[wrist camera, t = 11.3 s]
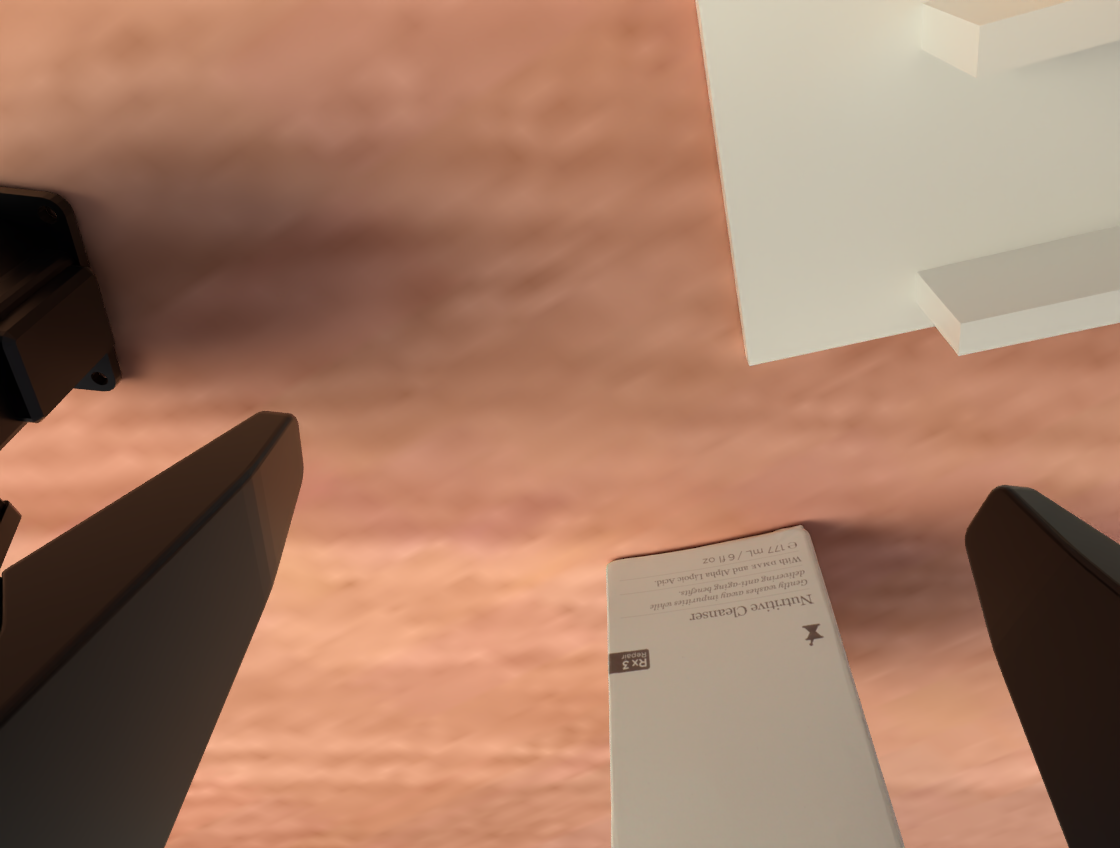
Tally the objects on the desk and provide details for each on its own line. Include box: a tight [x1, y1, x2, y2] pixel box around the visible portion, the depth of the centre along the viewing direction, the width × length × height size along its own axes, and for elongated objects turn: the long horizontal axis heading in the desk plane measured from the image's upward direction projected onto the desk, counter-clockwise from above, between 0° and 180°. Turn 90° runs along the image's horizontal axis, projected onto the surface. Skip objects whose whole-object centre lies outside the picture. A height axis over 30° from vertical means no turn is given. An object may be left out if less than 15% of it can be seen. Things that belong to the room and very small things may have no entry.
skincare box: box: [606, 525, 905, 848], centre depth 25 cm, size 8×6×15 cm
